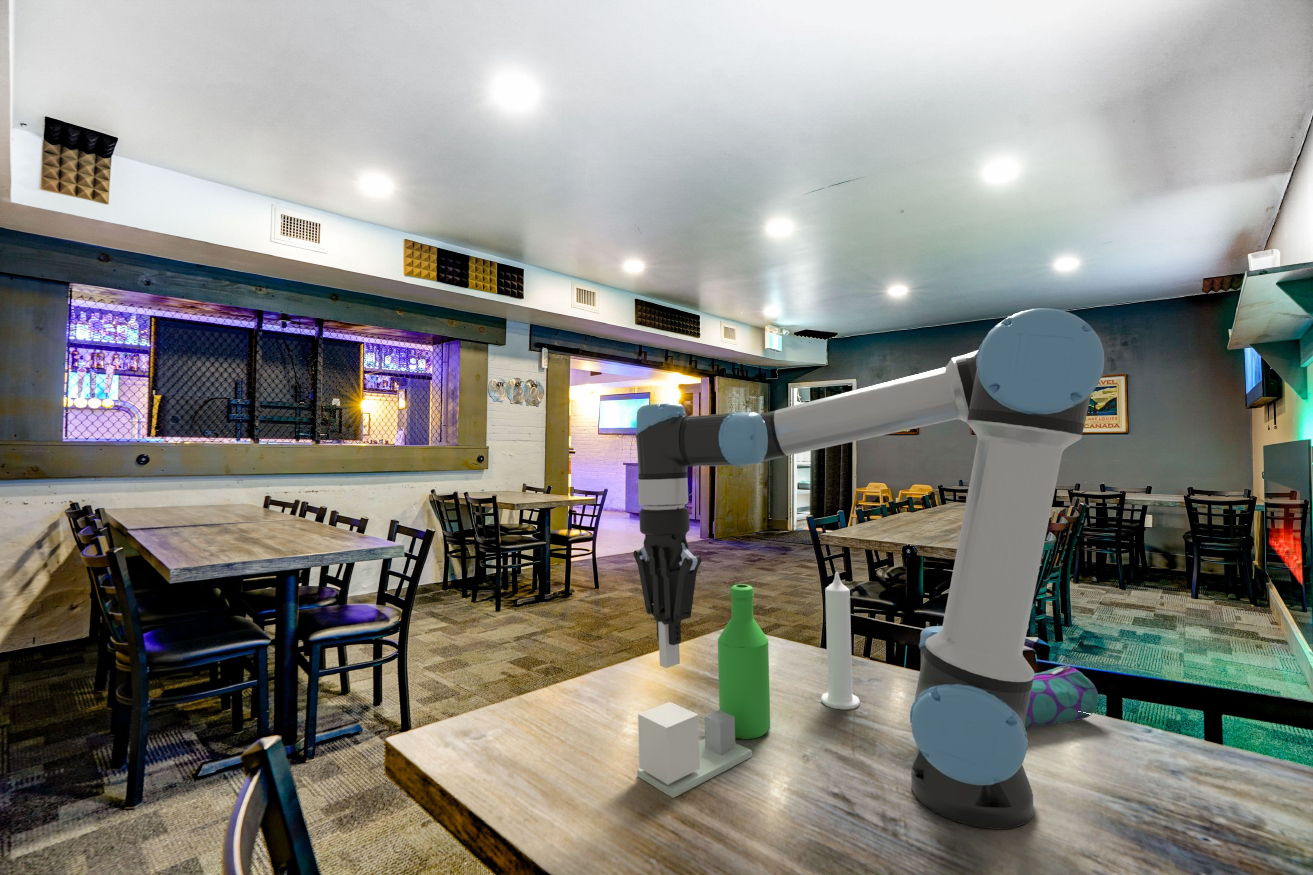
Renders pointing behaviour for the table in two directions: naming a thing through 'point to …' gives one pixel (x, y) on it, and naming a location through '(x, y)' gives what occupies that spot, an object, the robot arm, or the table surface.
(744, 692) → the bottle
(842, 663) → the candle
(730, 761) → the rack
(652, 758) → the white square column
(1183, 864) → the table surface
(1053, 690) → the pencil case
